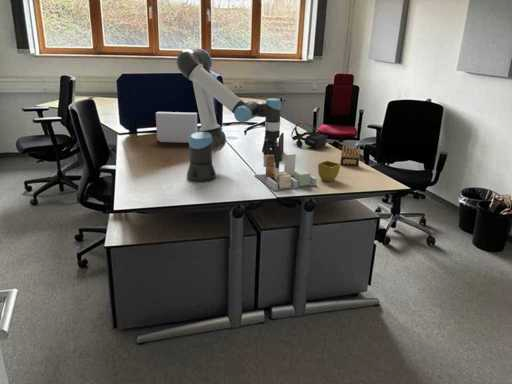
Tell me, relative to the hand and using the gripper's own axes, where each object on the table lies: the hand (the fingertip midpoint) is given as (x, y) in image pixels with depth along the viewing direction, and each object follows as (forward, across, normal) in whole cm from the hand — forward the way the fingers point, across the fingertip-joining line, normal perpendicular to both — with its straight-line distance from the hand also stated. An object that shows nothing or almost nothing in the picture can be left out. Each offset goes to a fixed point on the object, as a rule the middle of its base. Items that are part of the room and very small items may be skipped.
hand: (271, 170), depth 223 cm
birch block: (+4, -8, 0) cm, 9 cm away
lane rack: (+5, -6, -6) cm, 9 cm away
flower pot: (+5, -12, -28) cm, 31 cm away
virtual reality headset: (+5, +55, -54) cm, 78 cm away
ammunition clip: (+5, +6, -54) cm, 55 cm away
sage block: (+4, -8, -11) cm, 14 cm away
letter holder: (+5, +40, -20) cm, 45 cm away
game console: (+5, +93, +28) cm, 97 cm away
